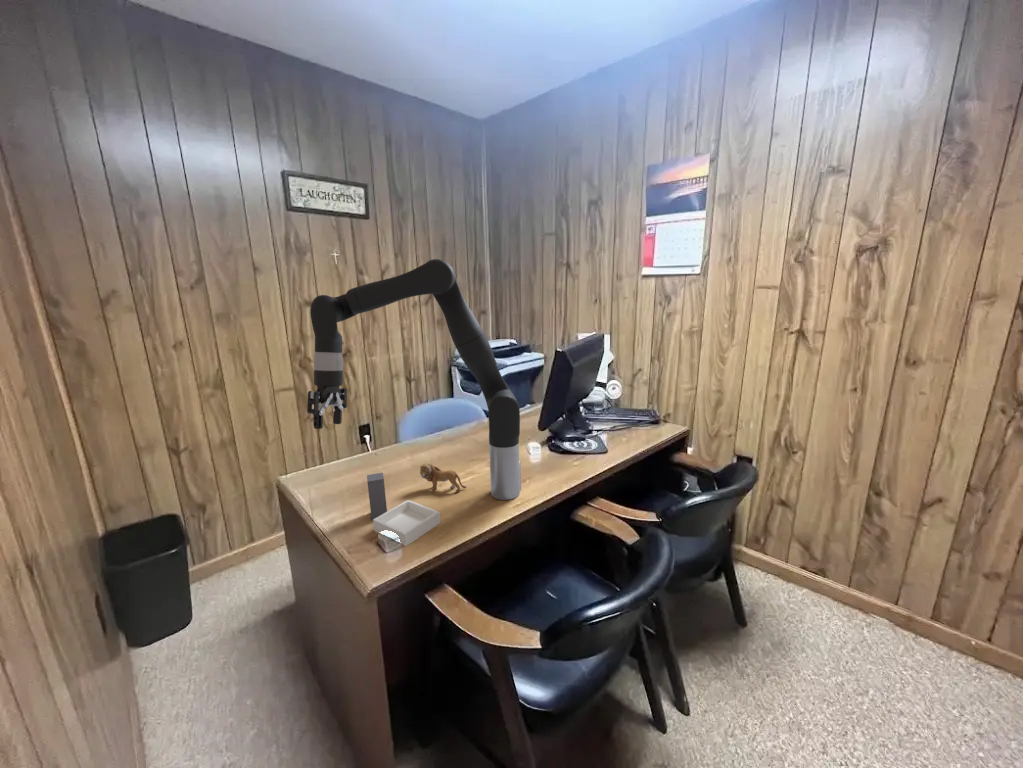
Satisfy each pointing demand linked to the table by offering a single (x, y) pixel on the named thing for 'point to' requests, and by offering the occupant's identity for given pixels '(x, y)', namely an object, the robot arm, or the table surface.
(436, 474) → the lion figurine
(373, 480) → the handle block
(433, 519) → the tray
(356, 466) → the table surface
